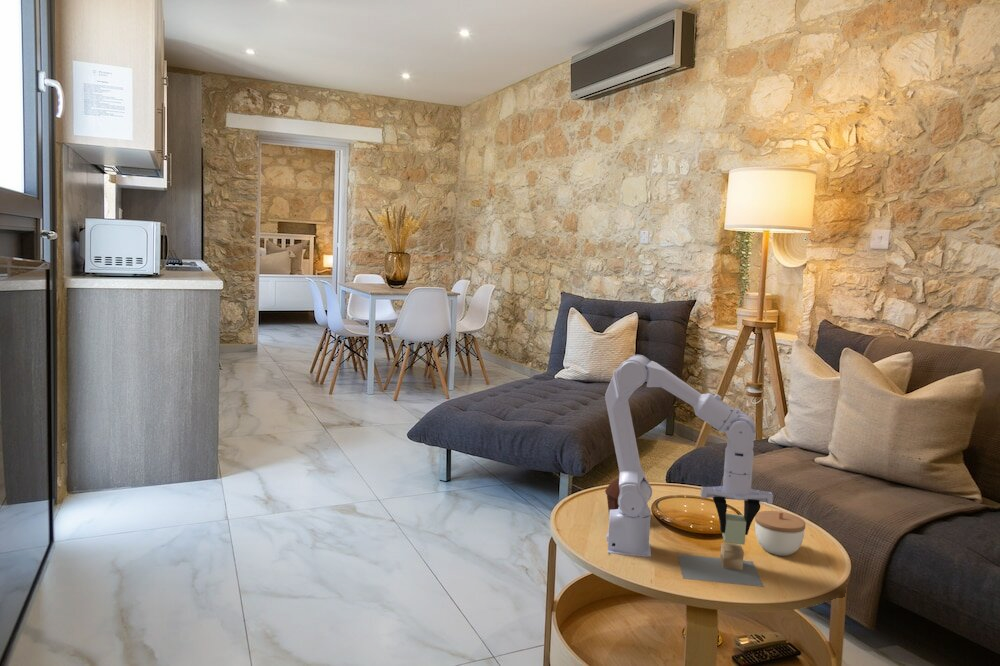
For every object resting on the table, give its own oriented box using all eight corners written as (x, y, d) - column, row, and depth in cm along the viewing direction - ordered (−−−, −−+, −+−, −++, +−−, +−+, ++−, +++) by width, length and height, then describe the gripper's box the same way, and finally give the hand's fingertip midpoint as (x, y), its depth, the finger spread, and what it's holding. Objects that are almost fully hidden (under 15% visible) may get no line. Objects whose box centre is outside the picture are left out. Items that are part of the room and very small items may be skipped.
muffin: (599, 509, 183) (601, 472, 182) (640, 508, 184) (642, 471, 183) (611, 526, 171) (613, 487, 170) (655, 526, 172) (657, 487, 171)
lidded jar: (772, 563, 153) (775, 522, 152) (743, 543, 163) (746, 505, 162) (813, 559, 156) (816, 519, 155) (782, 540, 166) (785, 502, 165)
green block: (725, 542, 148) (726, 520, 148) (722, 535, 152) (724, 513, 151) (744, 544, 147) (746, 521, 147) (741, 537, 151) (743, 515, 151)
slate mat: (683, 580, 143) (683, 578, 143) (677, 555, 155) (677, 554, 155) (763, 588, 141) (764, 586, 141) (752, 563, 153) (752, 561, 153)
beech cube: (723, 568, 149) (724, 550, 148) (720, 560, 153) (721, 542, 152) (742, 569, 148) (743, 552, 148) (739, 562, 152) (740, 544, 152)
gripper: (705, 473, 145) (701, 536, 147) (778, 479, 143) (773, 542, 145) (701, 464, 152) (697, 523, 154) (770, 469, 150) (765, 529, 152)
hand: (733, 532), depth 150 cm, fingers closed on green block, 4 cm apart
